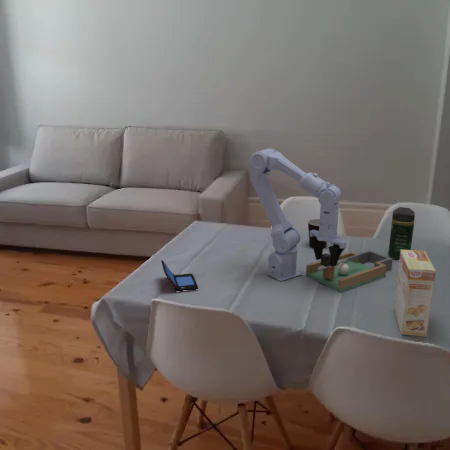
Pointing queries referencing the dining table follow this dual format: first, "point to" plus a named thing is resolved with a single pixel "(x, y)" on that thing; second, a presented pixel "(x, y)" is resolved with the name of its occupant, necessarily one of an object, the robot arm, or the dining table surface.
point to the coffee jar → (401, 231)
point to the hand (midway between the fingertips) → (326, 262)
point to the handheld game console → (180, 280)
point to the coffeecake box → (414, 292)
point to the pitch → (353, 270)
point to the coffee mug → (314, 225)
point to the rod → (328, 269)
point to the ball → (343, 268)
